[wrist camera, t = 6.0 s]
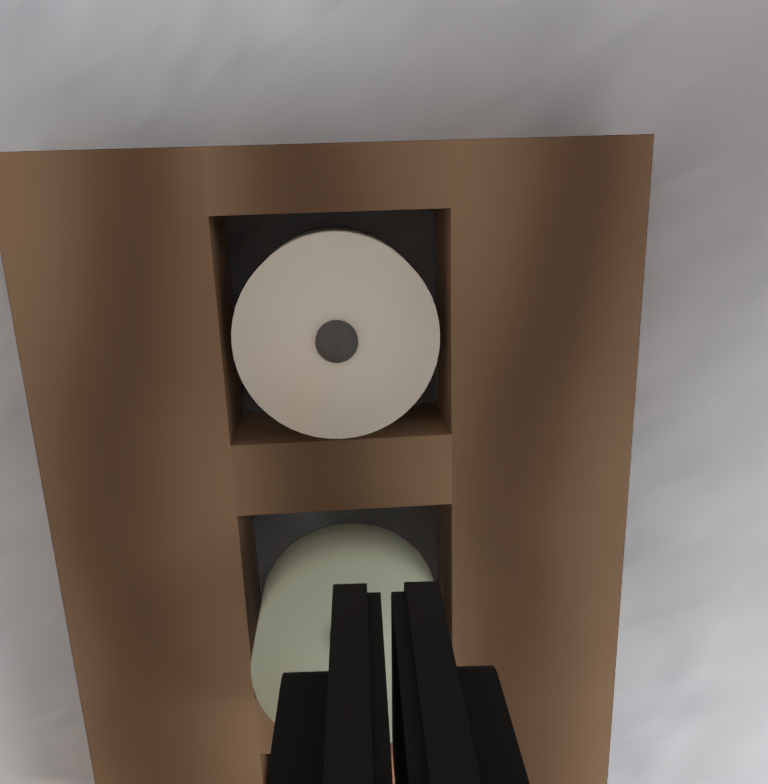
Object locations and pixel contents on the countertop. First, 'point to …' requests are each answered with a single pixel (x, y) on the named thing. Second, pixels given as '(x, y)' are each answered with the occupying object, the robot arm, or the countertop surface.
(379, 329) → the one pip button
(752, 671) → the countertop surface
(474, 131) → the countertop surface
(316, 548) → the two pip button
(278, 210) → the button panel
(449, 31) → the countertop surface
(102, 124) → the countertop surface
